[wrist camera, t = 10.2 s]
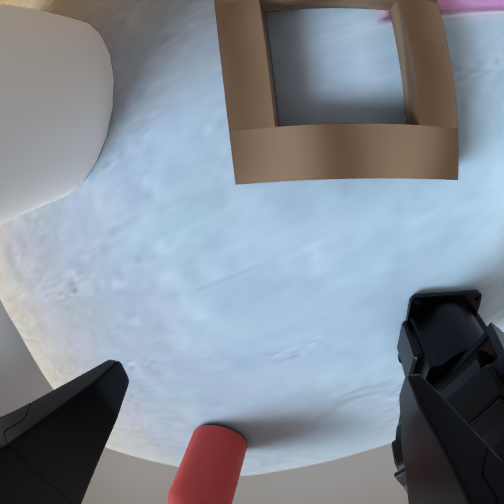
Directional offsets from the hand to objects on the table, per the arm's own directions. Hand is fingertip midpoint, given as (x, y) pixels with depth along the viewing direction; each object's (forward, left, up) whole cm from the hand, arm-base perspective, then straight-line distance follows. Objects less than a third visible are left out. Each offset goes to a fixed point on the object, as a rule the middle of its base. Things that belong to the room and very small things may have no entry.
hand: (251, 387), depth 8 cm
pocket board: (-4, -17, -13) cm, 22 cm away
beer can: (+9, +25, -13) cm, 30 cm away
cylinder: (+20, -13, -13) cm, 27 cm away
